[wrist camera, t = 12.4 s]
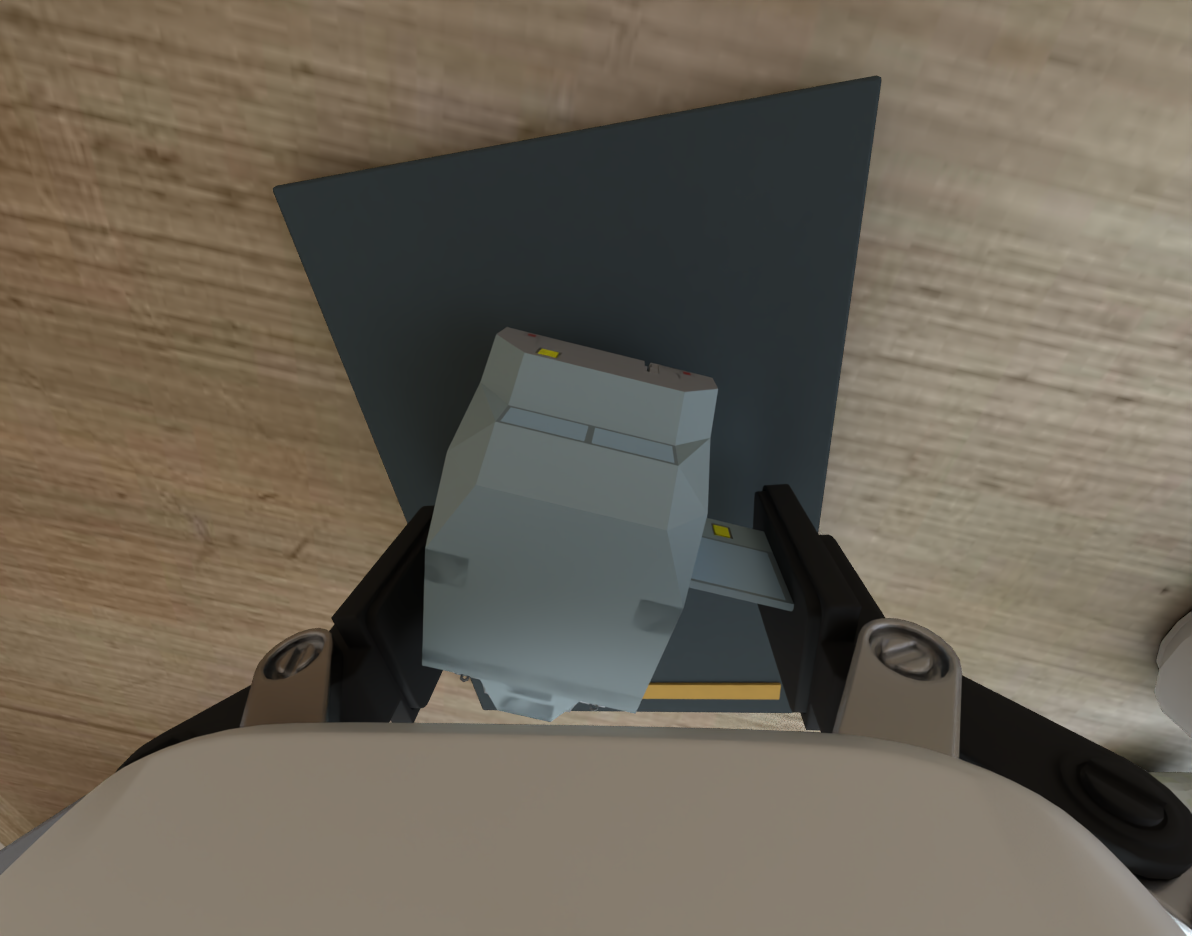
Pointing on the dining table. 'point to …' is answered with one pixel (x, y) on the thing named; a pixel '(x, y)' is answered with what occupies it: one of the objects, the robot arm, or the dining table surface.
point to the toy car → (578, 528)
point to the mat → (616, 305)
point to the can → (1176, 674)
